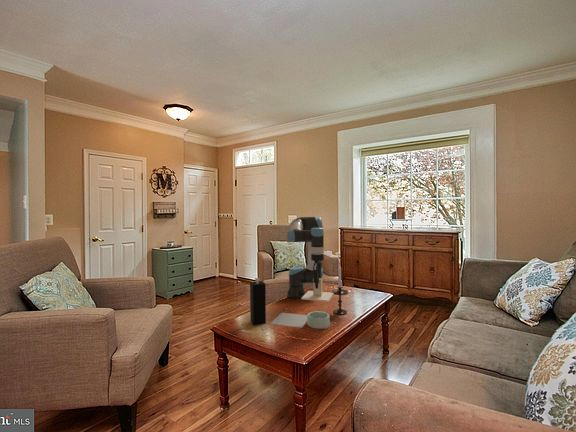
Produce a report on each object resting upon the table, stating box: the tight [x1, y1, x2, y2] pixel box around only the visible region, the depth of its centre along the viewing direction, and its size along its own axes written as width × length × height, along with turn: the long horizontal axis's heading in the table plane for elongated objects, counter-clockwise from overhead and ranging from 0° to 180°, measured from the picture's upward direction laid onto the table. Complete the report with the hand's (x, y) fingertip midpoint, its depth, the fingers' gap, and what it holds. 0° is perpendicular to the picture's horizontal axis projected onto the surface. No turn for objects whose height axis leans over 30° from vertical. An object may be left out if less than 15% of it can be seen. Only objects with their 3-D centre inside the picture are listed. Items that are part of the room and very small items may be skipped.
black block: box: [249, 277, 267, 326], centre depth 181 cm, size 8×8×28 cm
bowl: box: [306, 310, 331, 330], centre depth 177 cm, size 13×13×6 cm
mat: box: [269, 312, 308, 328], centre depth 185 cm, size 20×20×1 cm
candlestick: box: [331, 261, 349, 316], centre depth 198 cm, size 11×11×35 cm
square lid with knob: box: [301, 277, 335, 303], centre depth 177 cm, size 16×16×11 cm
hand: (317, 292), depth 177 cm, fingers closed on square lid with knob, 3 cm apart
